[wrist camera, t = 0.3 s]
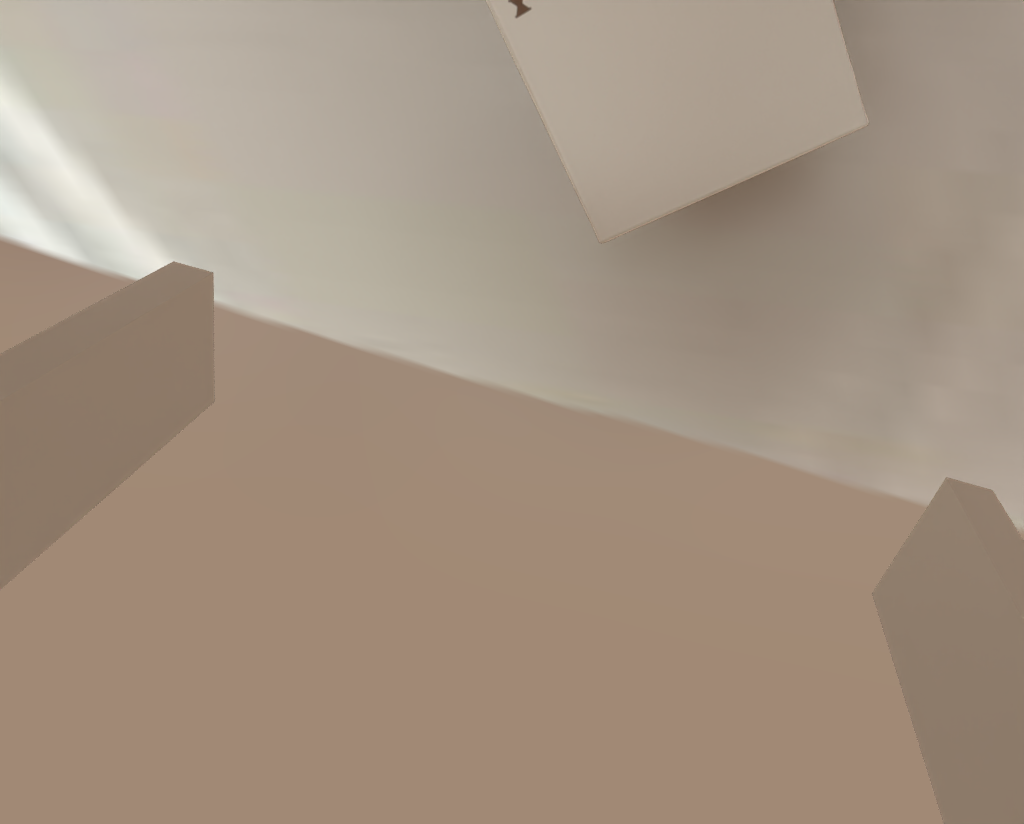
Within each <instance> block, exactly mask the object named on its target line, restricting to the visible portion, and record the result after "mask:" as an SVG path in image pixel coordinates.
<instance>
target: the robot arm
mask: <svg viewBox="0 0 1024 824" xmlns="http://www.w3.org/2000/svg"><path fill="white" fill-rule="evenodd" d="M214 401H215V395H214V285H213V272H209V271H206V270H202V269H199V268H195V267H191V266H188V265H184V264H181V263H177V262H172V263H170V264H168V265H166V266H164V267H162V268H160V269H159V270H157V271H155V272H153V273H151V274H149V275H147V276H145V277H144V278H142V279H140V280H138V281H136V282H134V283H132V284H130V285H129V286H127V287H125V288H123V289H121V290H120V291H117V292H115V293H113V294H112V295H110V296H108V297H106V298H104V299H102V300H100V301H98V302H97V303H95V304H93V305H91V306H89V307H87V308H85V309H83V310H82V311H80V312H78V313H76V314H74V315H72V316H70V317H68V318H67V319H65V320H63V321H61V322H59V323H57V324H55V325H53V326H52V327H50V328H48V329H46V330H44V331H42V332H40V333H39V334H36V335H35V336H33V337H31V338H29V339H27V340H25V341H23V342H21V343H20V344H18V345H16V346H14V347H12V348H10V349H9V350H6V351H5V352H3V353H1V354H0V590H1V589H2V588H3V587H4V586H5V585H7V584H8V583H9V582H10V581H11V580H12V579H13V578H15V577H16V576H17V575H18V574H19V573H20V572H21V571H23V570H24V569H25V568H26V567H27V566H28V565H29V564H30V563H32V562H33V561H34V560H35V559H36V558H37V557H39V556H40V555H41V554H42V553H43V552H44V551H45V550H47V549H48V548H49V547H50V546H51V545H52V544H53V543H54V542H56V541H57V540H58V539H59V538H60V537H61V536H62V535H63V534H65V533H66V532H67V531H68V530H69V529H70V528H72V527H73V526H74V525H75V524H76V523H77V522H78V521H79V520H81V519H82V518H83V517H84V516H85V515H86V514H87V513H88V512H90V511H91V510H92V509H93V508H94V507H95V506H97V505H98V504H99V503H100V502H101V501H102V500H103V499H105V498H106V497H107V496H108V495H109V494H110V493H111V492H112V491H114V490H115V489H116V488H117V487H118V486H119V485H120V484H121V483H123V482H124V481H125V480H126V479H127V478H128V477H130V476H131V475H132V474H133V473H134V472H135V471H136V470H138V469H139V468H140V467H141V466H142V465H143V464H144V463H146V462H147V461H148V460H149V459H150V458H151V457H152V456H153V455H155V453H157V452H158V451H159V450H160V449H161V448H162V447H164V446H165V445H166V444H167V443H168V442H169V441H170V440H172V439H173V438H174V437H175V436H176V435H177V434H179V433H180V432H181V431H182V430H183V429H184V428H185V427H186V426H188V425H189V424H190V423H191V422H192V421H193V420H194V419H196V418H197V417H198V416H199V415H200V414H201V413H202V412H204V411H205V410H206V409H207V408H208V407H209V406H210V405H212V404H213V403H214ZM872 596H873V599H874V602H875V605H876V608H877V612H878V615H879V618H880V621H881V624H882V628H883V631H884V634H885V637H886V640H887V643H888V647H889V650H890V653H891V656H892V660H893V663H894V666H895V669H896V672H897V676H898V679H899V682H900V685H901V688H902V692H903V695H904V698H905V701H906V704H907V708H908V711H909V714H910V717H911V720H912V724H913V727H914V730H915V733H916V736H917V740H918V742H919V746H920V749H921V752H922V756H923V759H924V762H925V765H926V769H927V772H928V775H929V778H930V781H931V785H932V788H933V791H934V794H935V797H936V800H937V804H938V807H939V810H940V813H941V816H942V820H943V823H944V824H1024V540H1023V539H1022V537H1021V535H1020V534H1019V532H1018V531H1017V529H1016V527H1015V526H1014V524H1013V523H1012V521H1011V519H1010V518H1009V516H1008V514H1007V513H1006V511H1005V510H1004V508H1003V506H1002V505H1001V503H1000V502H999V500H998V498H997V497H996V495H995V493H994V492H993V490H990V489H987V488H983V487H979V486H976V485H972V484H969V483H965V482H961V481H958V480H954V479H951V478H947V477H946V479H945V480H944V482H943V484H942V485H941V487H940V488H939V490H938V491H937V493H936V494H935V496H934V498H933V499H932V501H931V502H930V504H929V505H928V507H927V508H926V510H925V512H924V513H923V515H922V516H921V518H920V519H919V521H918V523H917V524H916V526H915V527H914V529H913V530H912V532H911V533H910V535H909V536H908V538H907V540H906V541H905V543H904V544H903V546H902V547H901V549H900V551H899V552H898V554H897V555H896V557H895V558H894V560H893V562H892V563H891V564H890V566H889V568H888V569H887V571H886V572H885V574H884V575H883V577H882V578H881V580H880V582H879V583H878V585H877V586H876V588H875V589H874V591H873V593H872Z"/></svg>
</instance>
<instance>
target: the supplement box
mask: <svg viewBox="0 0 1024 824" xmlns="http://www.w3.org/2000/svg"><path fill="white" fill-rule="evenodd" d="M486 2H487V4H488V6H489V9H490V11H491V13H492V15H493V17H494V19H495V22H496V24H497V26H498V28H499V30H500V32H501V35H502V37H503V39H504V41H505V43H506V45H507V47H508V50H509V52H510V54H511V56H512V58H513V60H514V62H515V64H516V66H517V68H518V71H519V73H520V75H521V77H522V79H523V81H524V83H525V85H526V87H527V89H528V92H529V94H530V96H531V98H532V100H533V102H534V104H535V106H536V108H537V111H538V113H539V115H540V117H541V119H542V121H543V123H544V125H545V127H546V130H547V132H548V134H549V136H550V138H551V140H552V142H553V144H554V147H555V149H556V151H557V153H558V155H559V157H560V159H561V161H562V164H563V166H564V168H565V170H566V172H567V174H568V176H569V179H570V181H571V183H572V185H573V187H574V189H575V191H576V193H577V196H578V198H579V200H580V202H581V204H582V206H583V208H584V210H585V212H586V214H587V216H588V219H589V221H590V223H591V225H592V227H593V229H594V231H595V234H596V236H597V238H598V241H599V243H605V242H607V241H610V240H612V239H614V238H617V237H619V236H621V235H623V234H626V233H628V232H630V231H632V230H635V229H637V228H639V227H641V226H644V225H646V224H648V223H650V222H653V221H655V220H657V219H660V218H662V217H664V216H666V215H669V214H671V213H673V212H675V211H678V210H680V209H682V208H685V207H687V206H689V205H691V204H694V203H696V202H698V201H700V200H703V199H705V198H707V197H710V196H712V195H714V194H716V193H719V192H721V191H723V190H725V189H728V188H730V187H732V186H734V185H737V184H739V183H741V182H744V181H746V180H748V179H750V178H753V177H755V176H757V175H759V174H762V173H764V172H766V171H768V170H771V169H773V168H775V167H777V166H780V165H782V164H784V163H786V162H788V161H791V160H793V159H795V158H797V157H800V156H802V155H804V154H806V153H809V152H811V151H813V150H815V149H818V148H820V147H822V146H824V145H826V144H829V143H831V142H833V141H835V140H837V139H840V138H842V137H844V136H846V135H848V134H850V133H853V132H855V131H857V130H859V129H861V128H864V127H866V126H868V124H869V120H868V117H867V115H866V112H865V109H864V106H863V102H862V99H861V96H860V92H859V89H858V85H857V82H856V78H855V75H854V71H853V68H852V65H851V61H850V58H849V54H848V51H847V48H846V44H845V41H844V37H843V34H842V30H841V26H840V23H839V19H838V15H837V12H836V8H835V4H834V1H833V0H486Z"/></svg>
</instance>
